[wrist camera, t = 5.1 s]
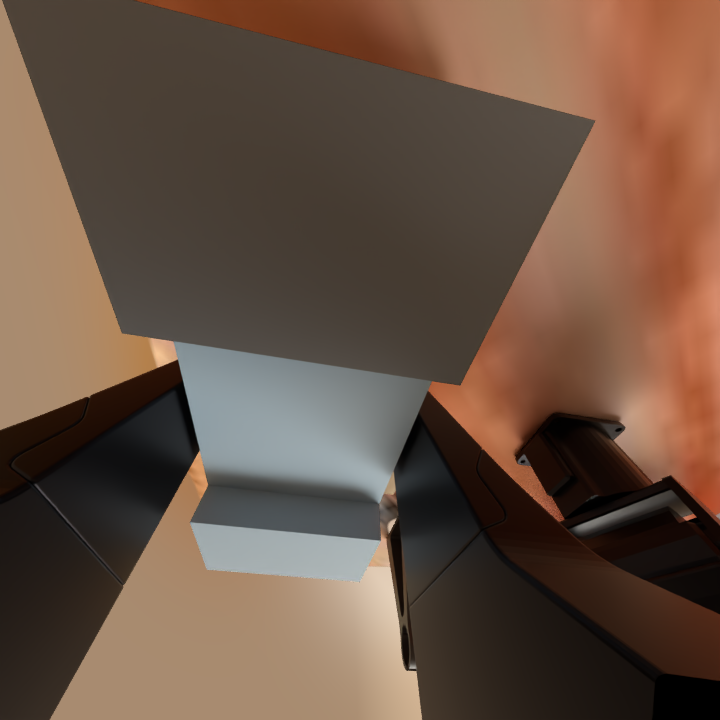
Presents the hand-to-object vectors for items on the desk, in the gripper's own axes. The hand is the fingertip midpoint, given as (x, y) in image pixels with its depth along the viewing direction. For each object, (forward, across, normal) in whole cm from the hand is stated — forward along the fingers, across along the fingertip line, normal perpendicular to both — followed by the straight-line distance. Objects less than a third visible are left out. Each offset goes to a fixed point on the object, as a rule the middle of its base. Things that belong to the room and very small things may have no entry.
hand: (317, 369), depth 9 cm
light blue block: (+1, 0, 0) cm, 1 cm away
